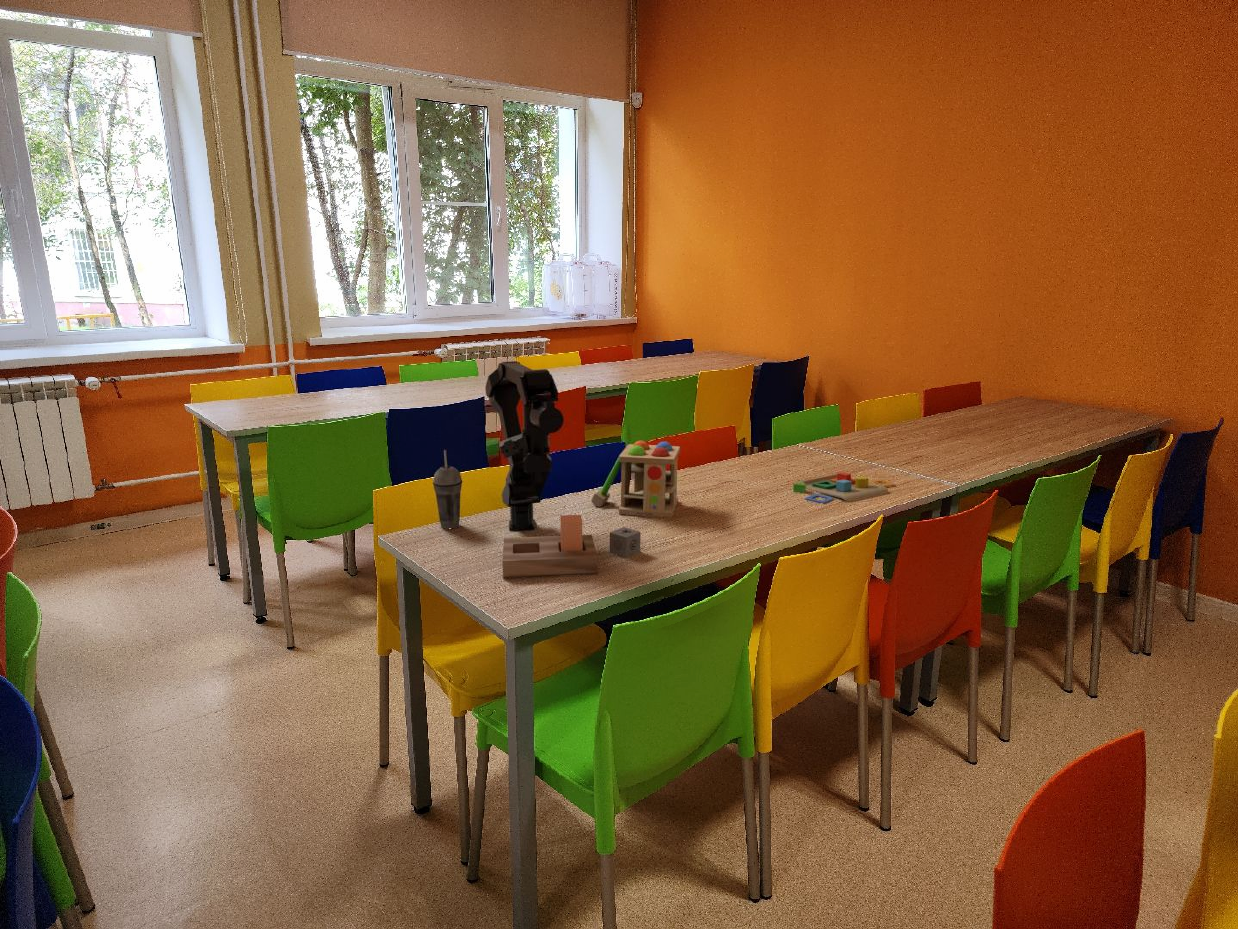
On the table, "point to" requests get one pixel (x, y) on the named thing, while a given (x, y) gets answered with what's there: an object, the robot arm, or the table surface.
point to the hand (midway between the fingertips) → (537, 490)
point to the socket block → (546, 558)
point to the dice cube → (625, 542)
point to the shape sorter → (842, 487)
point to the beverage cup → (448, 495)
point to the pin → (571, 533)
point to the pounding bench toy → (645, 480)
